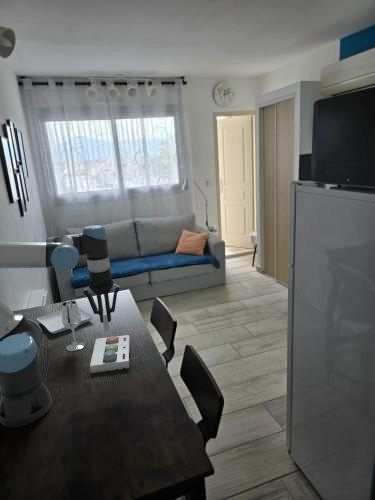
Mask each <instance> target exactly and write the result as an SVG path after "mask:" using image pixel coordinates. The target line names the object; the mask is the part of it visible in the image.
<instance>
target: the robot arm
mask: <svg viewBox="0 0 375 500" xmlns="http://www.w3.org/2000/svg"><path fill="white" fill-rule="evenodd" d="M109 255H110V254H109V247H108V238H107V232H106V228H105V227H104V226H103V225H100V224H99V225H98V224H95V225H87V226H84V227H83V228H82V232H80V233H74V234H64V235H55V236H50V237H47V238H46V239H45V242H44V241H43V242H41V241H39V242H37V241H0V269H39V268H40V269H42V268H43V269H44V268H45V269H48V268H53V269H57V270H59V271H60V272H68V271H71V270H73V269H74V268H75V267H76V266H77V264H78V261H79V259H80V257H82V256H85V257H86V263H87V269H88V270H89V271H88V280H89V285H88V287H86V288H84V290H83V294H84V295H85V297H86V298H87V300H88V302H89V305H90V307H91V309H92V312H93V314H94V315H99V321H100V323H101V324H102V323H103V331H104V332H109V331H110V322H111V321H112V313H114V312H115V310H116V305H117V304H116V303H117V297H118V293H119V290H120V288H121V286H120V285H119V284H115V283H114V281H113V280H112V273H111V272H112V271H111V269H110V267H111V264H110V256H109ZM111 290H112V291H113V297H112V304H111V306H110V297H109V296H110V295H109V293H110V292H111ZM91 292H93V293H94V294H95V295H96V299H97V300H96V301H97V304H96V302H95V299H94V297H93V294H92V293H91ZM102 295H103V296H104V304H105V312H104V308H103V306H104V305H103V298H102ZM43 339H44V338H43V331H42V328H41V326H40V325H39V324H38V323H37V322H36V321H34V320H32V319H30V318H29V319H27V317H25V315H24V314H22V313H20V314H19V313H14V311H13V310H11V309H10V307H9V306H7V305H6V303H5V302H4V301H3V300H2V299H0V423H1V425H3V426H5V427H7V428H19V427H24V426H27V425H29V424H32V423H34V422H35V421H38V420H39V419H41V418H42V417H43V416H45V414H47V413H48V412H49V410H50V409H51V407H52V404H53V400H52V399H53V398H52V394H51V392H50V390H49V389H48V387H47V386H46V384H45V383H44V381H43V376H42V372H41V366H40V354H41V348H42V344H43Z"/></svg>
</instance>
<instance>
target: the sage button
mask: <svg viewBox="0 0 375 500" xmlns="http://www.w3.org/2000/svg"><path fill="white" fill-rule="evenodd" d="M105 349H106V352H107V351H110V350H112V351H115V352H117V346H116V345H115V344H110V345H107V346H106V347H105Z"/></svg>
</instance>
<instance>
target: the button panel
mask: <svg viewBox="0 0 375 500" xmlns="http://www.w3.org/2000/svg"><path fill="white" fill-rule="evenodd" d="M109 337H110V336H109ZM109 337H102V338H101V337H100V338H95V343H94V346H93V350H92V355H91V360H90V364H89V368H90V369H89V370H90V374H94V373H101V372H109V371H117V370H116V369H118V370H124V369H123V368H125V369H130V358H129V353H131V352H130V351H131V350H130V349H131V348H130V346H131V339H130V334H126V335H125V334H123V335H117V336H116V337H117V339H118V343H116V344H115V345H116V346H117V352H115V354H116V361H115V362H107V363H105V362H104V353H105V352H106V349H105V347H106V346H107V338H109ZM108 345H110V344H108Z"/></svg>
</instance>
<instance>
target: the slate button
mask: <svg viewBox="0 0 375 500" xmlns="http://www.w3.org/2000/svg"><path fill="white" fill-rule="evenodd" d="M115 361H116V354H115V351H112V350H110V351H107V352H105V353H104V362H105V363H107V362H115Z"/></svg>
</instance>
